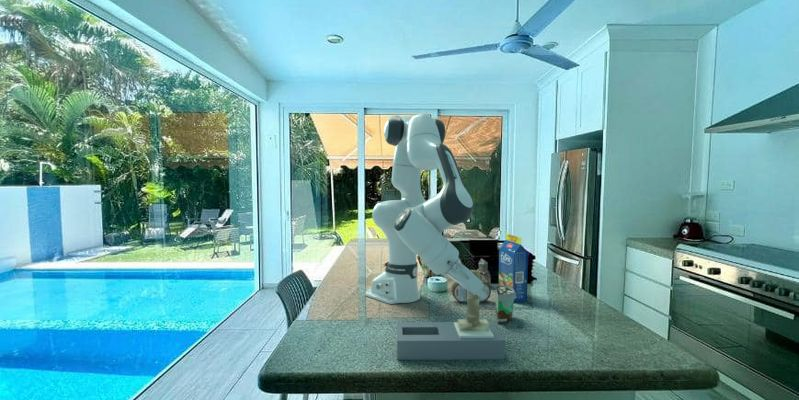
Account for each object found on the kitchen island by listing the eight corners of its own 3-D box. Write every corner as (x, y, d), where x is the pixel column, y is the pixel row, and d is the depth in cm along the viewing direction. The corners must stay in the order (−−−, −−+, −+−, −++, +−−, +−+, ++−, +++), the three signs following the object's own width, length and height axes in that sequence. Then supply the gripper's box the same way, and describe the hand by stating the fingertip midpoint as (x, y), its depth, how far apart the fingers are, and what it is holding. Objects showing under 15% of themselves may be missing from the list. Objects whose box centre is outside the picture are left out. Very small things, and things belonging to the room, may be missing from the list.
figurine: (474, 288, 152) (474, 260, 151) (473, 283, 159) (474, 257, 158) (491, 289, 151) (491, 261, 150) (489, 284, 158) (490, 258, 157)
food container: (517, 327, 111) (518, 296, 110) (497, 325, 112) (498, 294, 112) (513, 313, 123) (513, 285, 122) (495, 311, 124) (495, 284, 124)
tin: (489, 300, 136) (489, 279, 136) (491, 303, 133) (492, 281, 133) (451, 300, 136) (451, 279, 135) (452, 303, 133) (452, 281, 132)
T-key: (459, 331, 95) (460, 272, 94) (457, 326, 98) (458, 269, 97) (488, 330, 95) (489, 272, 94) (485, 326, 98) (486, 269, 97)
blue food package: (511, 292, 146) (513, 233, 145) (527, 301, 135) (528, 237, 133) (498, 292, 145) (499, 233, 144) (512, 302, 134) (513, 238, 132)
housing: (397, 359, 90) (397, 338, 90) (396, 339, 102) (396, 320, 102) (504, 359, 91) (505, 338, 90) (491, 338, 103) (491, 319, 102)
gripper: (466, 257, 83) (502, 294, 86) (437, 242, 103) (468, 273, 106) (448, 276, 83) (485, 314, 85) (423, 258, 103) (454, 289, 105)
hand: (475, 291), depth 96 cm, fingers open, 8 cm apart
